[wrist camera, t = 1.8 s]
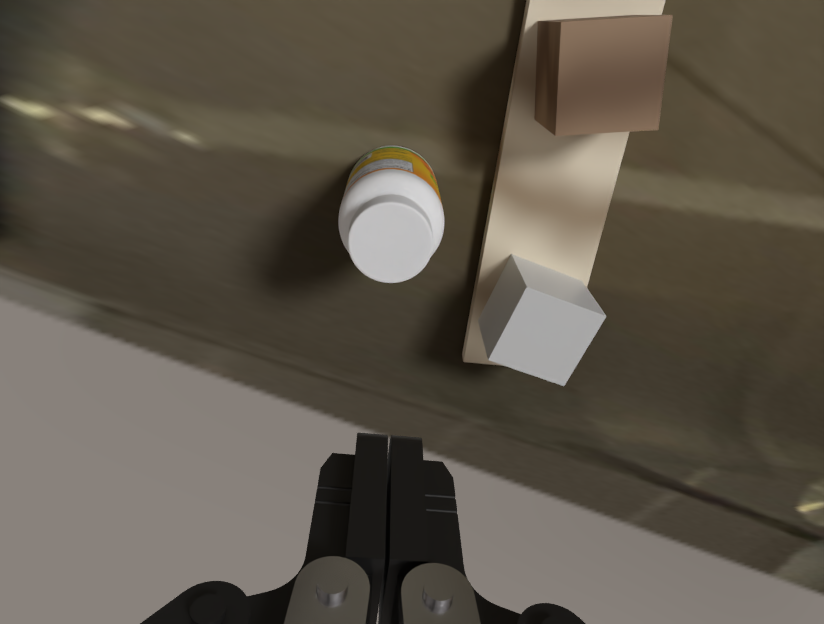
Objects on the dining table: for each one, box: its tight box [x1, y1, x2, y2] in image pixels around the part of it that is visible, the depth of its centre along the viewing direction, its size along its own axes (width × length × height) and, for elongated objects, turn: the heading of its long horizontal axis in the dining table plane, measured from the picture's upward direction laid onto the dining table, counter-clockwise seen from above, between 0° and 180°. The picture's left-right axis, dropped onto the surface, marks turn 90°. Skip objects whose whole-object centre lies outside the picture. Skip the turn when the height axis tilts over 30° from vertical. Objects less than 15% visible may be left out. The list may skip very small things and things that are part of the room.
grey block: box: [478, 254, 606, 386], centre depth 36 cm, size 5×5×5 cm
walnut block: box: [534, 15, 673, 136], centre depth 30 cm, size 5×5×5 cm
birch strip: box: [462, 0, 665, 366], centre depth 36 cm, size 24×7×1 cm, turn 173°
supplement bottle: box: [338, 146, 444, 283], centre depth 32 cm, size 5×5×10 cm
